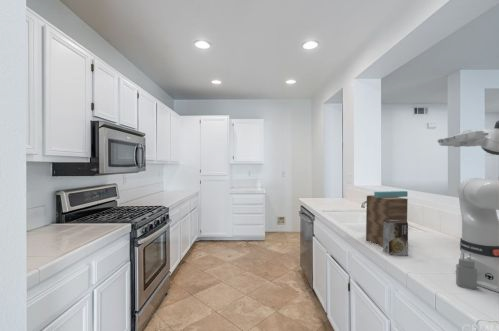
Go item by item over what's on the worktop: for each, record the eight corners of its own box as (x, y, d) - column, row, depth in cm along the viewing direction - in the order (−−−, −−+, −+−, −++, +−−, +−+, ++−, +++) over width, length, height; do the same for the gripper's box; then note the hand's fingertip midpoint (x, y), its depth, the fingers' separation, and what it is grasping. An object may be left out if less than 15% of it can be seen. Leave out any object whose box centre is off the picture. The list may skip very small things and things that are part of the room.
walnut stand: (406, 247, 131) (407, 198, 131) (389, 249, 127) (390, 199, 127) (382, 238, 146) (382, 195, 146) (365, 240, 142) (366, 195, 142)
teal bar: (407, 196, 139) (407, 191, 139) (378, 197, 133) (378, 192, 133) (402, 196, 142) (402, 190, 142) (374, 197, 136) (374, 191, 136)
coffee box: (401, 251, 124) (401, 219, 124) (408, 256, 118) (408, 222, 118) (382, 250, 125) (383, 219, 125) (388, 255, 119) (389, 222, 119)
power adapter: (455, 282, 92) (456, 250, 92) (474, 286, 89) (475, 253, 89) (457, 286, 89) (458, 253, 89) (477, 289, 86) (478, 256, 86)
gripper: (492, 139, 118) (467, 141, 117) (453, 147, 138) (431, 148, 137) (490, 127, 119) (465, 128, 117) (451, 136, 139) (429, 137, 138)
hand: (446, 139), depth 127 cm, fingers open, 8 cm apart
